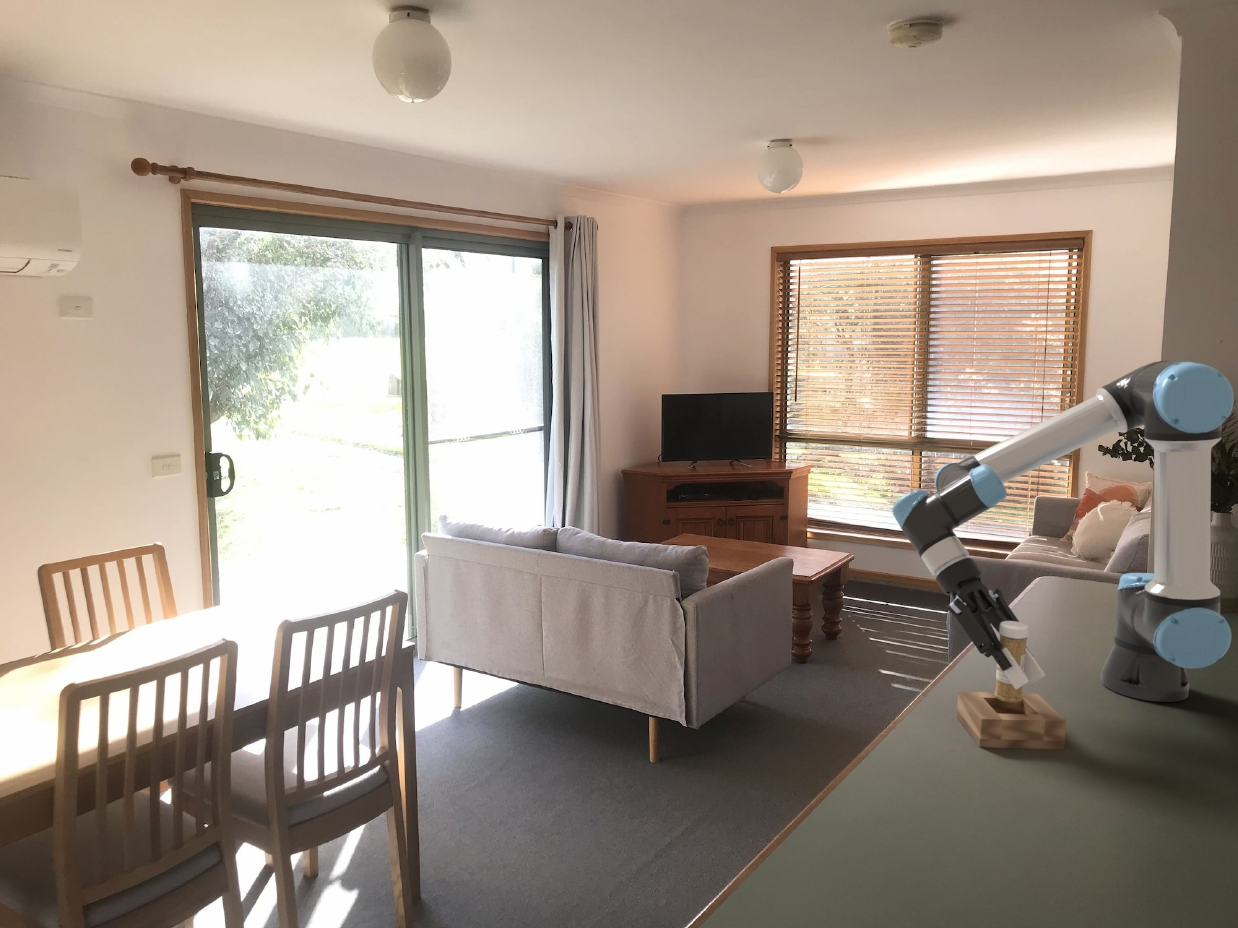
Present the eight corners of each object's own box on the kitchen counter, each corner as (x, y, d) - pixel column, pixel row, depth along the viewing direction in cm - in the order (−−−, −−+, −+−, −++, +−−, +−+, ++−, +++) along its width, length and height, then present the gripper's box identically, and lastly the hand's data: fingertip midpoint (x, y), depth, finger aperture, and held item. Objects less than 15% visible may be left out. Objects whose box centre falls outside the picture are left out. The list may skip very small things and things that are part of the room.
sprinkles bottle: (990, 698, 159) (996, 624, 157) (999, 691, 163) (1004, 618, 161) (1017, 705, 156) (1024, 629, 154) (1026, 697, 160) (1032, 623, 158)
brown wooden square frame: (1034, 719, 166) (1036, 693, 165) (1063, 749, 154) (1066, 721, 153) (956, 717, 166) (958, 691, 166) (979, 747, 155) (981, 718, 154)
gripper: (966, 571, 174) (1042, 681, 163) (909, 584, 164) (986, 703, 153) (994, 549, 169) (1074, 662, 158) (936, 562, 159) (1018, 682, 148)
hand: (1030, 682), depth 156 cm, fingers closed on sprinkles bottle, 4 cm apart
